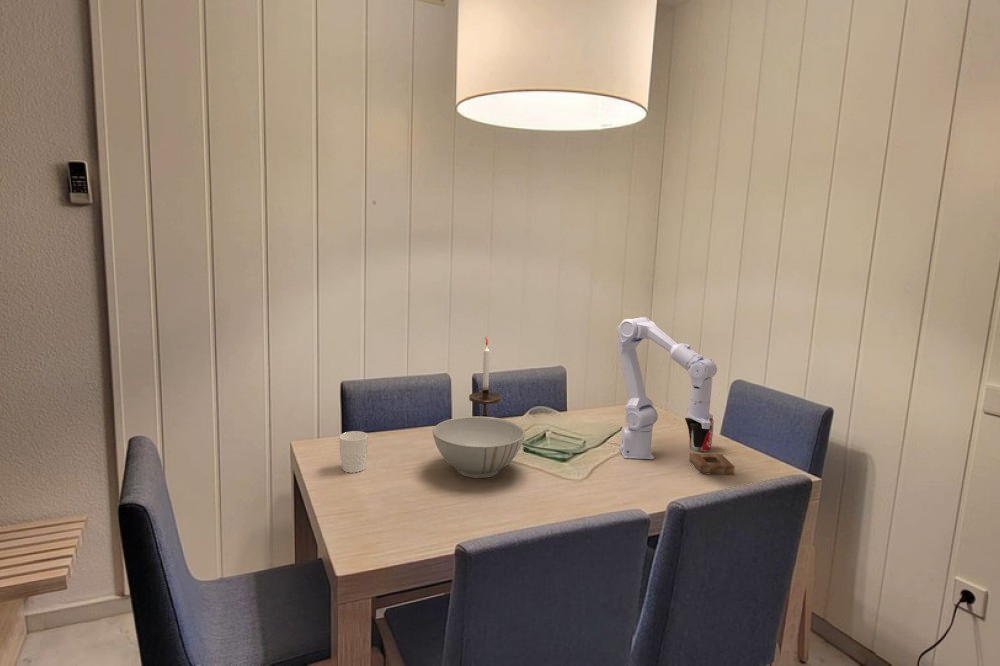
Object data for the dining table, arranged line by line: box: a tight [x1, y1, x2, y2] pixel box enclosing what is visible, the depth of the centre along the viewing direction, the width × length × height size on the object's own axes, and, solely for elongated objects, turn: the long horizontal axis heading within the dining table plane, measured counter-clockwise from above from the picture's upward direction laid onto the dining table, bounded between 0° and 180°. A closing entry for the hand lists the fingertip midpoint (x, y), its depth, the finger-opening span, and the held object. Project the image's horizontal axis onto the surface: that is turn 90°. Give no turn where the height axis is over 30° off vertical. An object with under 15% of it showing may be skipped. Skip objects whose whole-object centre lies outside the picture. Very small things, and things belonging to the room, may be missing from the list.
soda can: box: [688, 412, 715, 452], centre depth 194 cm, size 7×7×12 cm
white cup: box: [339, 430, 368, 473], centre depth 169 cm, size 8×8×10 cm
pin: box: [689, 431, 701, 453], centre depth 173 cm, size 3×3×6 cm
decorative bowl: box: [432, 415, 526, 479], centre depth 171 cm, size 27×27×12 cm
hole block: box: [688, 452, 735, 475], centre depth 179 cm, size 10×10×2 cm
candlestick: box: [468, 335, 502, 417], centre depth 197 cm, size 11×11×35 cm
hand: (695, 444), depth 173 cm, fingers closed on pin, 3 cm apart
